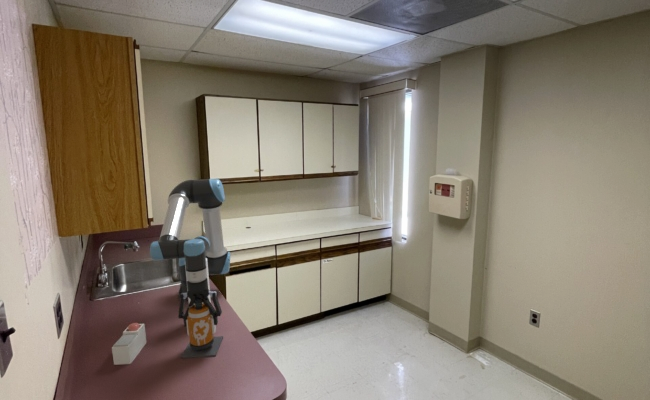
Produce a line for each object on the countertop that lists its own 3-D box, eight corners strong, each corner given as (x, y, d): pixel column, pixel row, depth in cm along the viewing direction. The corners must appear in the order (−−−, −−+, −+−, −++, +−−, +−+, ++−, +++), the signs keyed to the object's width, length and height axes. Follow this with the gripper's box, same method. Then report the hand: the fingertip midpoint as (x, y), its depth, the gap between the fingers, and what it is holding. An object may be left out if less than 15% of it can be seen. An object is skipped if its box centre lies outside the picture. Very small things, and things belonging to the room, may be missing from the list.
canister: (190, 353, 132) (185, 304, 129) (189, 338, 142) (185, 293, 139) (215, 347, 135) (211, 299, 132) (212, 333, 146) (208, 288, 142)
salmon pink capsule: (133, 341, 142) (131, 322, 140) (142, 340, 142) (140, 322, 141) (128, 346, 138) (126, 327, 137) (138, 345, 138) (135, 327, 137)
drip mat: (191, 339, 145) (191, 338, 145) (223, 337, 146) (223, 336, 146) (181, 358, 132) (181, 356, 132) (215, 356, 133) (215, 354, 133)
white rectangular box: (132, 343, 143) (129, 324, 142) (147, 342, 143) (144, 323, 142) (114, 364, 129) (111, 343, 128) (130, 363, 130) (128, 342, 128)
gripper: (164, 284, 130) (170, 339, 134) (223, 281, 131) (227, 336, 135) (172, 276, 137) (177, 329, 141) (227, 274, 139) (231, 326, 142)
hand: (201, 332), depth 138 cm, fingers closed on canister, 9 cm apart
